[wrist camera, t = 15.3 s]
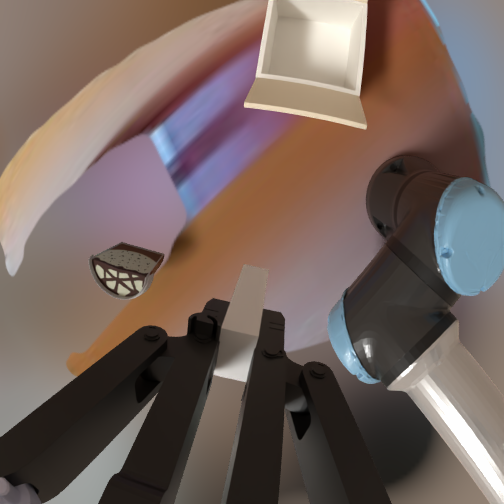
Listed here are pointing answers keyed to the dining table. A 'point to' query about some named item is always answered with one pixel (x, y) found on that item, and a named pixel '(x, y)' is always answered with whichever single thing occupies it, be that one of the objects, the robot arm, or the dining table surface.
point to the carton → (314, 43)
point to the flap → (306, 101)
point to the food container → (125, 270)
